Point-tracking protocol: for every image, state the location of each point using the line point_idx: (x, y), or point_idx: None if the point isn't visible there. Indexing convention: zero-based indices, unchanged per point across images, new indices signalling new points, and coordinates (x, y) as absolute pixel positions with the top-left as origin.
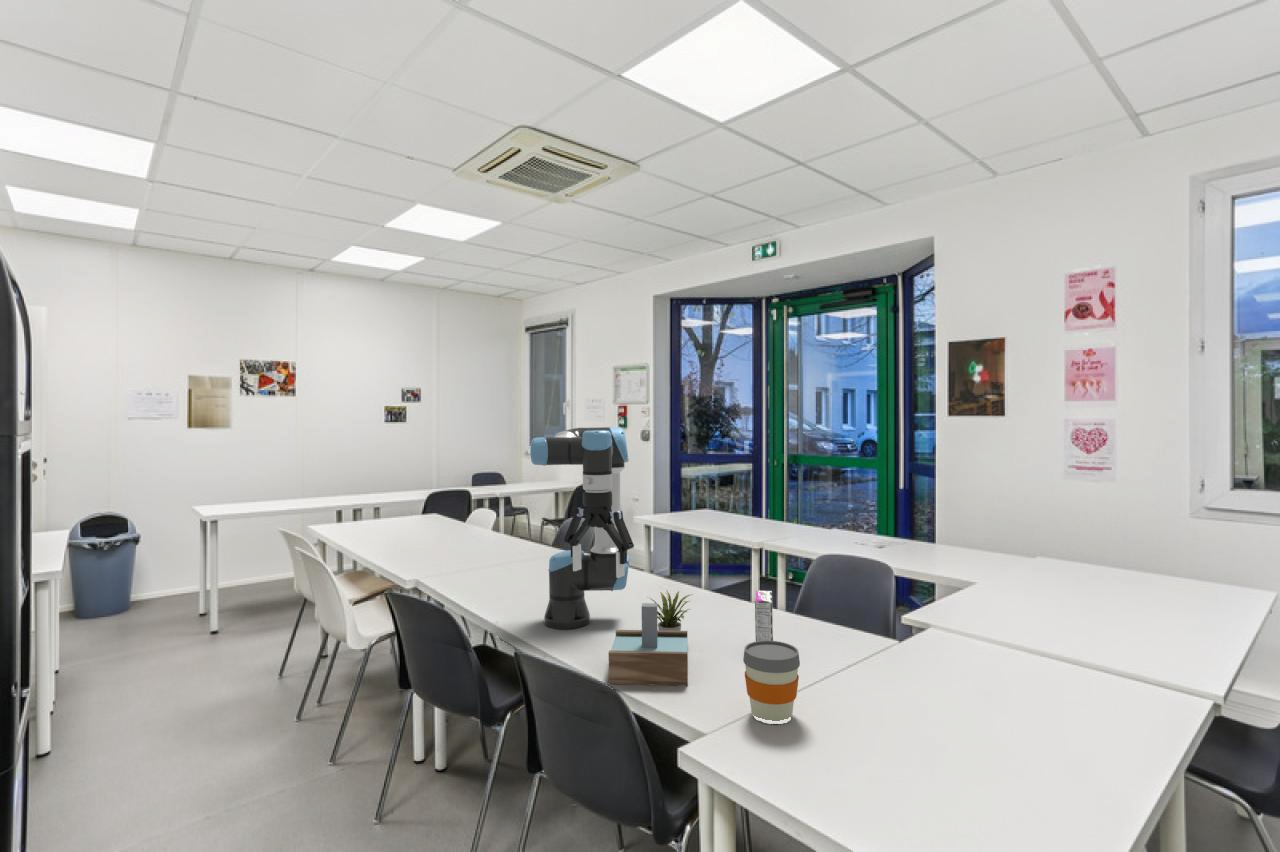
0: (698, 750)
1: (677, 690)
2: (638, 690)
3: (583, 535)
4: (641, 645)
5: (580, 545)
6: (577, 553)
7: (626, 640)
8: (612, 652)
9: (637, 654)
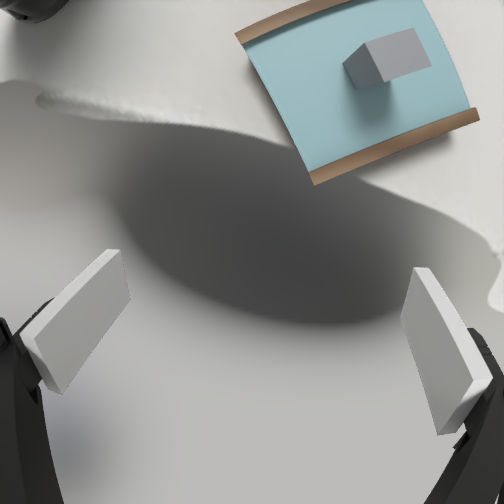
0: (495, 294)
1: (438, 137)
2: (375, 166)
3: (18, 413)
4: (345, 74)
5: (39, 341)
6: (78, 338)
7: (289, 59)
8: (323, 181)
9: (380, 157)
